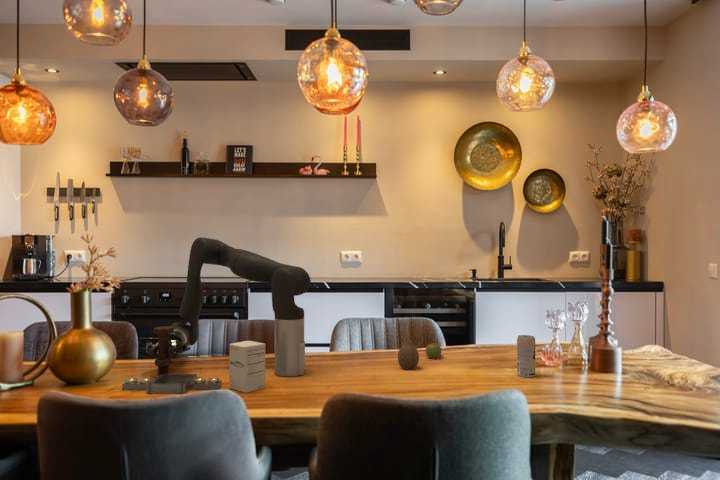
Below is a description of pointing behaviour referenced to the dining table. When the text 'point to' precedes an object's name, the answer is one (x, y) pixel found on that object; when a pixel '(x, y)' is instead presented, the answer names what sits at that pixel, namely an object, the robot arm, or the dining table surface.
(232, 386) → the supplement box
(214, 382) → the chain end
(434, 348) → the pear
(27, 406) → the dining table surface
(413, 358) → the vase
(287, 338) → the robot arm
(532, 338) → the energy drink
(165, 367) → the bolt
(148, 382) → the chain end
